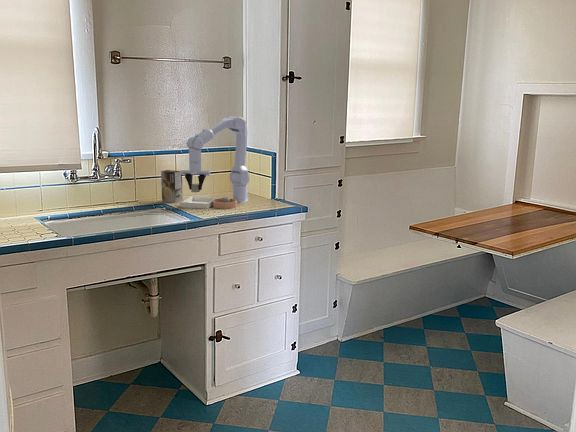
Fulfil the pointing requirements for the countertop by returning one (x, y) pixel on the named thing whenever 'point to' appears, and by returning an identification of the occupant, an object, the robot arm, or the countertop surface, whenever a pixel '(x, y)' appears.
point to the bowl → (224, 204)
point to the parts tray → (197, 202)
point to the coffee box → (171, 186)
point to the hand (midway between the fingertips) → (195, 189)
